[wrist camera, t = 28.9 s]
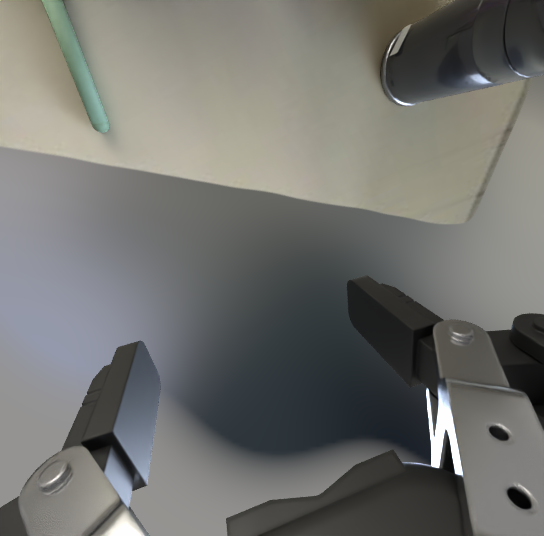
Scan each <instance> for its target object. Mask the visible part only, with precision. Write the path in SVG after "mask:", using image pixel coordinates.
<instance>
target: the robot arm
mask: <svg viewBox="0 0 544 536" xmlns="http://www.w3.org/2000/svg"><path fill="white" fill-rule="evenodd" d="M411 24H412V23H411ZM411 24H410V25H408V26H406V27H405V28H403V30H401V31H400V32H399V33H397V34H396V35H395V36H394V37H393V39H392V40H391V41H390V43H389V44H388V46H387V48H386V50H385V53H384V56H383V59H382V64H381V81H382V85H383V89H384V91H385V93H386V95H387V96H388V98H389V99H390V100H391V101H392V102H394V103H395V104H397V105H400V106H410V105H414V104H417V103H420V102H424V101H429V100H434V99H438V98H443V97H447V96H452V95H456V94H461V93H465V92H470V91H474V90H479V89H483V88H488V87H492V86H497V85H501V84H505V83H510V82H514V81H519V80H523V79H528V78H532V77H536V76H541V75H544V0H455V1H453V2H451V3H449V4H448V5H446V6H444V7H443V8H441V9H439V10H437V11H436V12H434V13H432V14H431V15H429V16H427V17H425V18H423V19H422V20H420V21H418V22H417V23H415V24H413V25H411ZM347 294H348V310H349V317H350V320H351V322H352V324H353V326H354V327H355V328H356V329H357V330H358V332H359V333H360V334H361V335H362V336H363V337H364V338H365V339H366V340H367V341H368V342H369V344H371V346H372V347H373V348H374V349H375V350H376V351H377V352H378V353H379V354H380V355H381V357H382V358H383V359H384V360H385V361H386V362H387V363H388V364H389V365H390V366H391V367H392V368H393V370H395V372H396V373H397V374H398V375H399V376H400V377H401V378H402V379H403V380H404V381H405V382H406V384H407V385H408V386H409V387H413V386H416V385H419V384H421V383H423V384H424V385H425V386H426V387H427V403H428V412H429V422H430V432H431V443H432V466H430V465H425V464H419V463H402V462H401V461H400V459H399V458H398V456H397V455H396V453H395V452H394V450H390V451H388V452H386V453H383V454H381V455H378V456H376V457H373V458H371V459H369V460H366V461H364V462H361V463H359V464H357V465H355V466H353V467H352V468H351V469H350V470H349V471H348V472H346V473H345V474H344V475H343V476H342V477H341V478H339V479H338V480H337V481H336V482H335V483H334V484H332V485H331V486H330V487H329V488H328V489H326V490H325V491H324V492H323V493H321V494H320V495H317V496H311V497H300V498H290V499H278V500H270V501H267V502H265V503H263V504H260V505H258V506H255V507H253V508H250V509H248V510H246V511H244V512H241V513H238V514H236V515H234V516H231V517H229V518H227V519H226V523H227V534H228V536H544V315H543V314H522V315H519V316H517V317H515V319H514V321H513V325H512V329H511V330H501V331H484V330H483V329H482V328H480V327H479V326H477V325H475V324H472V323H469V322H466V321H461V320H443V319H441V318H440V317H438V316H437V315H435V314H434V313H432V312H431V311H429V310H428V309H426V308H425V307H423V306H422V305H421V304H419V303H417V302H416V301H415V302H414V301H413V299H411V298H410V297H409V296H406V295H405V294H404V293H403V292H401V291H399V290H398V289H397V288H395V287H392V286H389V285H385V284H379V283H377V282H376V281H374V280H373V279H372V278H370V277H369V276H363V277H359V278H356V279H353V280H349V281H348V283H347ZM159 396H160V378H159V375H158V372H157V369H156V367H155V365H154V363H153V361H152V359H151V357H150V355H149V352H148V350H147V348H146V346H145V344H144V343H143V342H142V341H138V342H134V343H131V344H127V345H124V346H120V347H118V348H117V350H116V352H115V355H114V357H113V360H112V362H111V364H110V365H107V366H104V367H103V368H102V370H101V371H100V372H99V373H98V374H97V375H96V376H95V378H94V379H93V380H92V383H91V385H90V387H89V389H88V392H87V395H86V396H85V399H84V401H83V403H82V407H81V408H80V410H79V412H78V414H77V417H76V419H75V421H74V423H73V426H72V428H71V430H70V432H69V435H68V437H67V439H66V441H65V443H64V446H63V448H62V450H61V451H60V452H58V453H57V454H55V455H53V456H52V457H50V458H49V459H48V460H46V461H45V462H44V463H43V464H42V465H41V466H40V467H39V468H38V469H36V471H35V472H34V473H33V474H32V475H31V477H30V478H29V479H28V480H27V482H26V483H25V485H24V487H23V489H22V491H21V493H20V496H18V497H17V498H15V499H14V500H12V501H10V502H9V503H7V504H5V505H4V506H2V507H1V508H0V536H150V535H149V534H148V533H147V531H146V530H145V528H144V527H143V525H142V524H141V522H140V521H139V519H138V518H137V517H136V515H135V514H134V512H133V511H132V509H131V508H130V507H129V504H130V499H131V493H132V491H134V490H137V489H139V488H141V487H144V486H147V482H148V475H149V468H150V461H151V453H152V445H153V439H154V432H155V425H156V418H157V411H158V403H159Z"/></svg>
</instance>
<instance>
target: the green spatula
mask: <svg viewBox="0 0 544 536" xmlns="http://www.w3.org/2000/svg"><path fill="white" fill-rule="evenodd" d="M42 2H43V5H44V7H45V10H46V12H47V15H48V17H49V20H50V22H51V25H52V27H53V29H54V32H55V34H56V37H57V39H58V42H59V44H60V47H61V49H62V52H63V54H64V57H65V59H66V62H67V64H68V67H69V69H70V72H71V74H72V77H73V79H74V82H75V84H76V87H77V89H78V92H79V94H80V97H81V99H82V101H83V104H84V106H85V109H86V111H87V114H88V116H89V119H90V121H91V124H92V126H93V128H94V129H95V130H96V131H98V132H102V133H103V132H107V131H108V130H109V122H108V119H107V116H106V114H105V111H104V109H103V106H102V103H101V101H100V98H99V95H98V93H97V90H96V87H95V85H94V82H93V79H92V77H91V74H90V72H89V69H88V66H87V64H86V61H85V58H84V56H83V53H82V50H81V48H80V45H79V42H78V40H77V37H76V35H75V32H74V29H73V27H72V24H71V21H70V19H69V16H68V13H67V11H66V8H65V5H64V3H63V0H42Z"/></svg>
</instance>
